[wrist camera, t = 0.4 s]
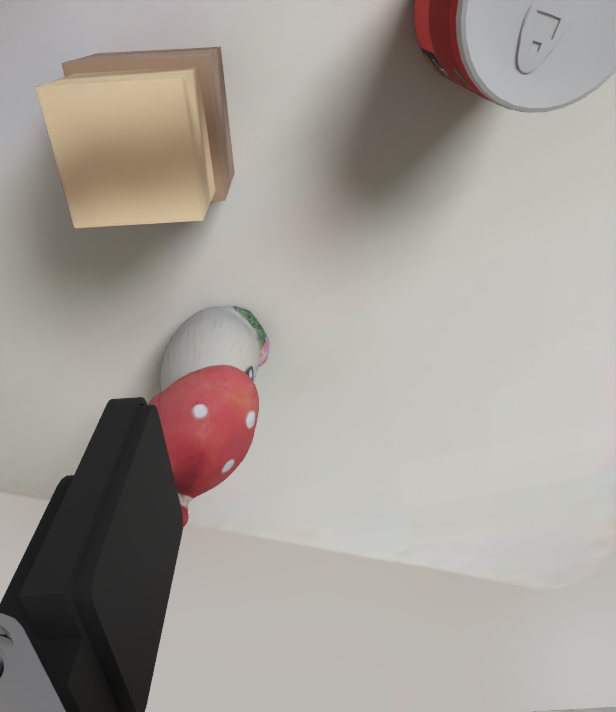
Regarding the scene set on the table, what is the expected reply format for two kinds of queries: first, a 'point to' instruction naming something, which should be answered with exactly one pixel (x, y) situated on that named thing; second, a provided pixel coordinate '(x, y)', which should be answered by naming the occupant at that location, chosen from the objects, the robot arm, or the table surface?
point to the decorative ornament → (210, 397)
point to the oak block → (130, 145)
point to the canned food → (521, 48)
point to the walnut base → (211, 92)
